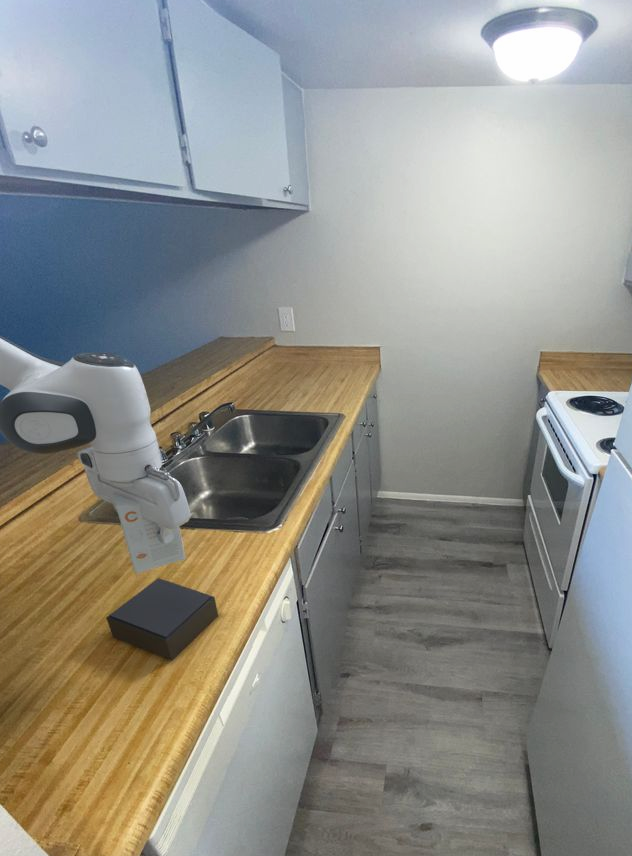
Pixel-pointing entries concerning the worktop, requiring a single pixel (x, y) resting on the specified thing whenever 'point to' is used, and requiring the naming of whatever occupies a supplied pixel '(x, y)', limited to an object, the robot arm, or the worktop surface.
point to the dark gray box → (163, 618)
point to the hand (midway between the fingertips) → (148, 532)
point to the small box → (146, 538)
